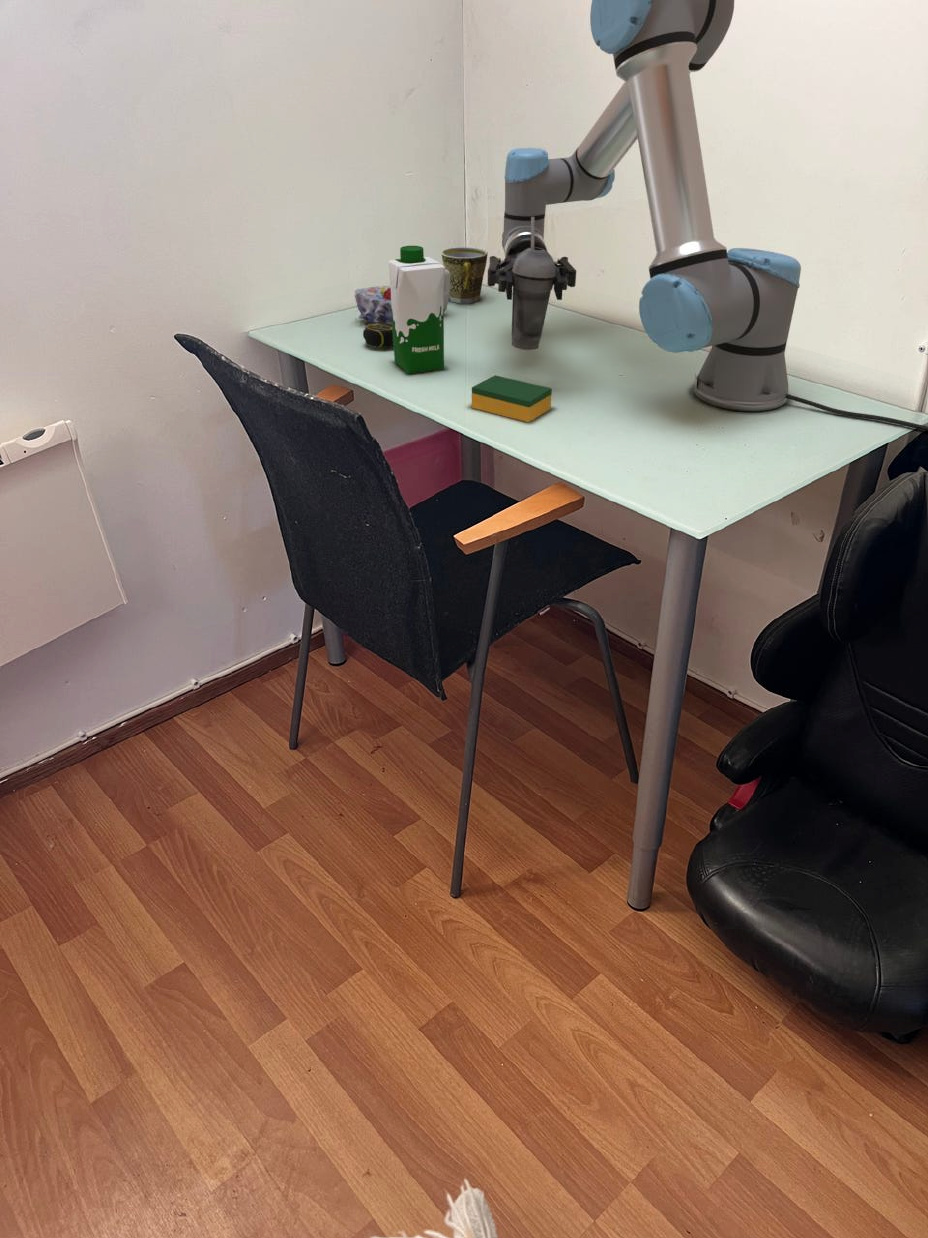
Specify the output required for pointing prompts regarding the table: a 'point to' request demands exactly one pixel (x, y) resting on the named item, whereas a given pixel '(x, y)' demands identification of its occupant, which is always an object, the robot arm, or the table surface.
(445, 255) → the ceramic cup
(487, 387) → the sponge
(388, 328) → the tape measure
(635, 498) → the table surface
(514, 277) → the beverage cup
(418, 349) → the milk carton
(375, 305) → the cell model
